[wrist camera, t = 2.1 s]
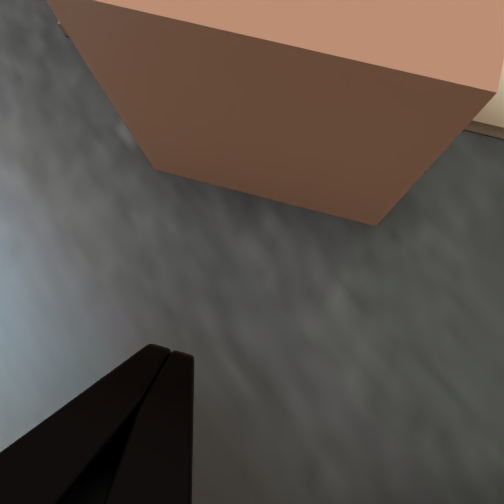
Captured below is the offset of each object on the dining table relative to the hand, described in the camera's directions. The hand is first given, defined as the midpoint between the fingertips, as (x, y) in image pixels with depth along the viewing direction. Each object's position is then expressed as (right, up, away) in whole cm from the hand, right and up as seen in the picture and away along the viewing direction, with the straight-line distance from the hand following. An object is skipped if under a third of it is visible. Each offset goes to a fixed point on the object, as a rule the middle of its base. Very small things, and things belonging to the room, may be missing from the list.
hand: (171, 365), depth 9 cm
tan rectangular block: (+2, +6, +11) cm, 12 cm away
